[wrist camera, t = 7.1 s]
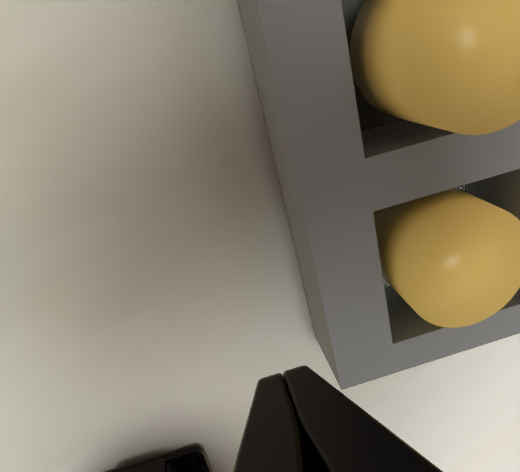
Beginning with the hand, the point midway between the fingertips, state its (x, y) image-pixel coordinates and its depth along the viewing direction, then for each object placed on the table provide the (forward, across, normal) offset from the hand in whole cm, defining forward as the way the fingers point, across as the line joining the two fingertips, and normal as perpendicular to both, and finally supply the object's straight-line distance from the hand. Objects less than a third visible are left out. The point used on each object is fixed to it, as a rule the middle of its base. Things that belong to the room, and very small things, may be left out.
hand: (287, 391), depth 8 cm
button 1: (+12, -8, +4) cm, 15 cm away
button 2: (+10, -8, -4) cm, 13 cm away
